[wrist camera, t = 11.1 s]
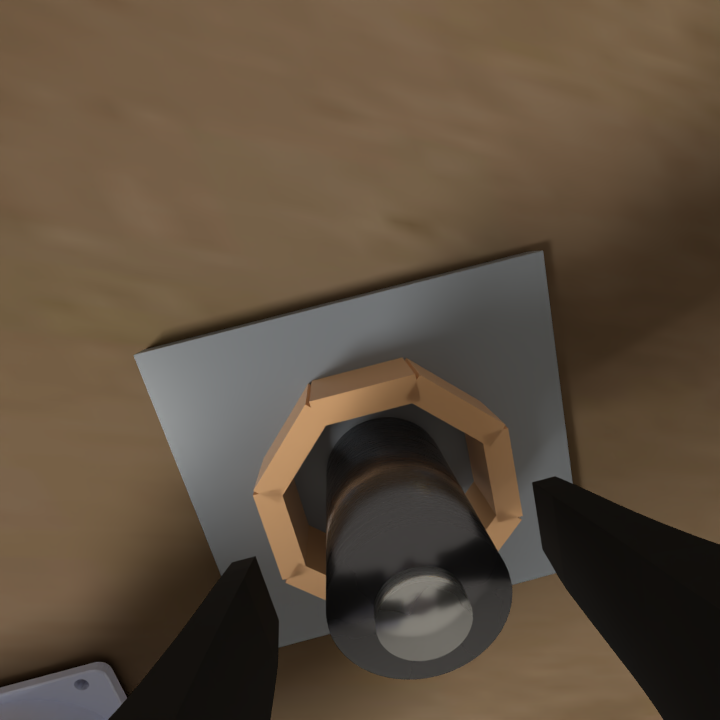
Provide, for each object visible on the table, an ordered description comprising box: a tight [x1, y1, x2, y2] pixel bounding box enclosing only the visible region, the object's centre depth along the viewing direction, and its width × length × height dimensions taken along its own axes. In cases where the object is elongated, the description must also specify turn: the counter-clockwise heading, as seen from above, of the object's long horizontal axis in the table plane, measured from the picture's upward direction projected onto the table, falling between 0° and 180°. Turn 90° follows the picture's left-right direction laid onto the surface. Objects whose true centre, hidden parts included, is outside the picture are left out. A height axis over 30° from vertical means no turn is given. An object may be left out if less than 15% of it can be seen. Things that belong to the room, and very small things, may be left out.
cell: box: [326, 417, 512, 679], centre depth 11 cm, size 4×4×6 cm
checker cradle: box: [134, 250, 573, 648], centre depth 14 cm, size 13×12×3 cm
